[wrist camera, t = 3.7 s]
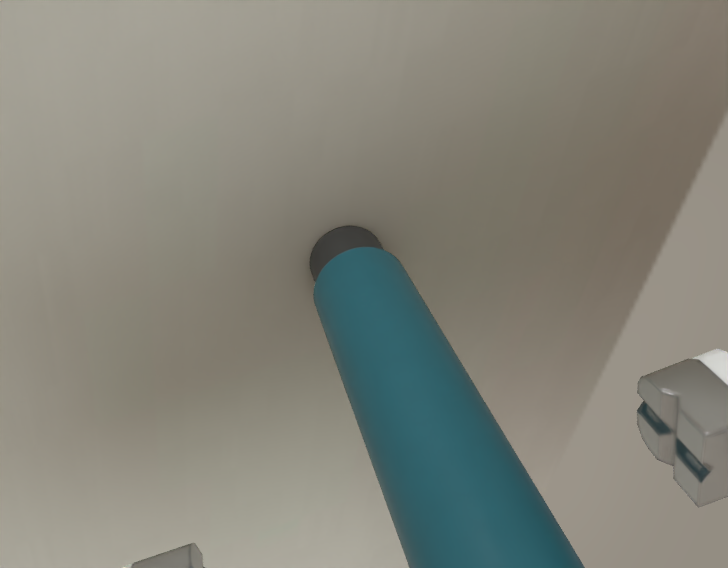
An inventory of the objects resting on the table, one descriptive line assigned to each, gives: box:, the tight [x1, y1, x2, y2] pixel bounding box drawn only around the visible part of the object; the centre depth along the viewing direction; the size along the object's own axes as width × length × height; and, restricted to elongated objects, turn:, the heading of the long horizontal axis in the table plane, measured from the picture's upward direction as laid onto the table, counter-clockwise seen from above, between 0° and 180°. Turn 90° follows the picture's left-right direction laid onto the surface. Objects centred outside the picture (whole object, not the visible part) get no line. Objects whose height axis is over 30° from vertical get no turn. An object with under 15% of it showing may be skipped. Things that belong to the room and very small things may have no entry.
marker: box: [310, 226, 585, 568], centre depth 13 cm, size 2×2×13 cm
